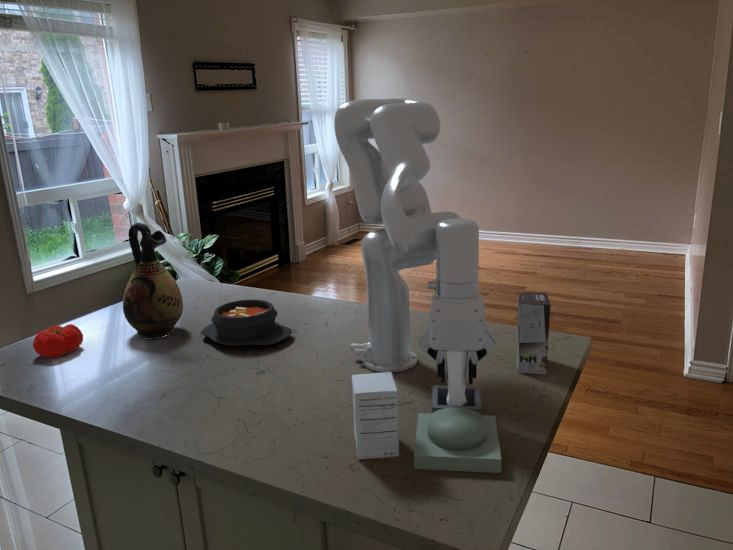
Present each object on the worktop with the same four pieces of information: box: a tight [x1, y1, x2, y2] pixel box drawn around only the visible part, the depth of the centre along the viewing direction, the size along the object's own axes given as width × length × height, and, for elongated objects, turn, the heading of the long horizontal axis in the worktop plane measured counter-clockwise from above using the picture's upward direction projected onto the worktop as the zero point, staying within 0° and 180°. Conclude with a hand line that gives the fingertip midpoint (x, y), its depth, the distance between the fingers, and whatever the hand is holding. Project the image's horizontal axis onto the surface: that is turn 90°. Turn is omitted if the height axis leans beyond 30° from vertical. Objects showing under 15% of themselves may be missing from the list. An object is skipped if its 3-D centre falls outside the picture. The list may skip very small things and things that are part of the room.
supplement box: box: [351, 372, 400, 460], centre depth 103 cm, size 7×7×13 cm
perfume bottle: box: [444, 351, 469, 406], centre depth 112 cm, size 5×4×15 cm
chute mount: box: [413, 384, 502, 474], centre depth 107 cm, size 14×22×5 cm, turn 172°
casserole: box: [200, 299, 293, 347], centre depth 156 cm, size 25×19×8 cm
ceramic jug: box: [122, 222, 184, 339], centre depth 160 cm, size 17×16×30 cm
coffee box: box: [515, 291, 552, 375], centre depth 133 cm, size 9×6×16 cm
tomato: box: [32, 323, 84, 359], centre depth 151 cm, size 10×11×6 cm
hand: (456, 379), depth 112 cm, fingers closed on perfume bottle, 4 cm apart
